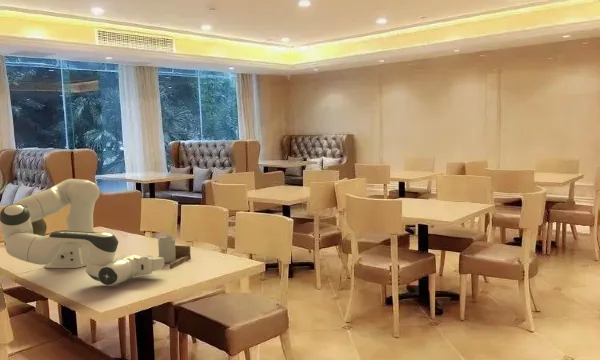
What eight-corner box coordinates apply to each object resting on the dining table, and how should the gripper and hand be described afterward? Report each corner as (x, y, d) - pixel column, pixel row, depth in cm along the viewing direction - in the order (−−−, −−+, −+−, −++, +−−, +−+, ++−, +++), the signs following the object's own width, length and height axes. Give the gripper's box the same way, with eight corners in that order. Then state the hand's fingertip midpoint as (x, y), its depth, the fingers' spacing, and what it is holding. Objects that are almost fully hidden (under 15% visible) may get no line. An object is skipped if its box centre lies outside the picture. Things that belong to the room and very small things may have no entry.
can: (172, 263, 231) (171, 237, 230) (156, 263, 232) (155, 237, 231) (178, 259, 239) (177, 234, 237) (162, 259, 239) (161, 234, 238)
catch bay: (172, 267, 224) (171, 254, 224) (145, 266, 228) (144, 253, 227) (190, 258, 241) (190, 245, 240) (165, 256, 244) (164, 244, 244)
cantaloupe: (39, 236, 298) (37, 211, 297) (52, 239, 290) (50, 213, 289) (14, 241, 287) (12, 215, 286) (26, 244, 279) (24, 217, 277)
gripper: (109, 271, 208) (129, 263, 222) (153, 274, 203) (171, 265, 216) (108, 256, 208) (128, 249, 221) (152, 259, 203) (170, 251, 216)
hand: (149, 257), depth 219 cm, fingers closed
